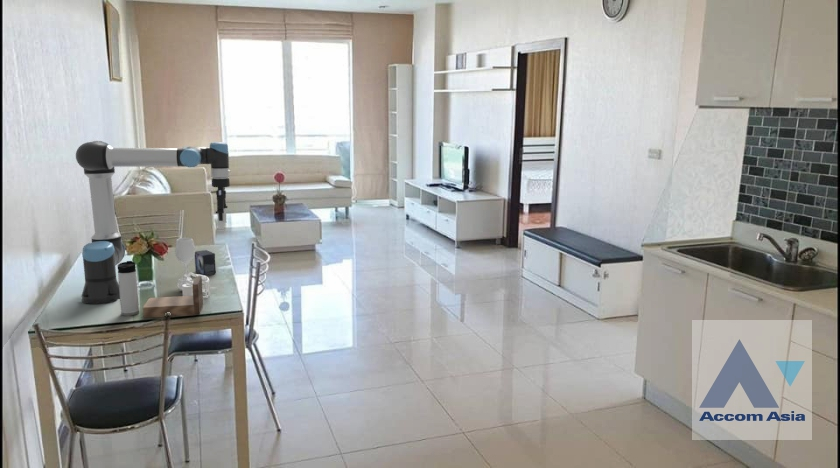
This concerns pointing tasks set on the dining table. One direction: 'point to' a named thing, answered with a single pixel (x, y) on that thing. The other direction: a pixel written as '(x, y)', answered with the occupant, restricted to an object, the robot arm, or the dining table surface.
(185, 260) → the wineglass
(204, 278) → the car outline toy
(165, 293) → the dining table surface
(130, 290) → the travel mug
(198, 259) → the small box
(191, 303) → the ledge
